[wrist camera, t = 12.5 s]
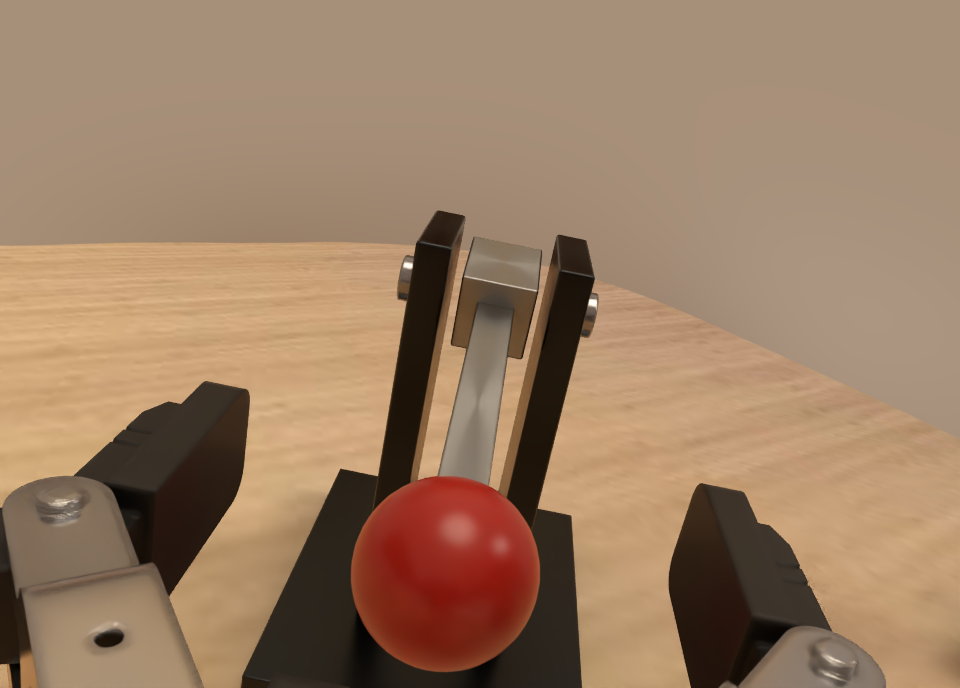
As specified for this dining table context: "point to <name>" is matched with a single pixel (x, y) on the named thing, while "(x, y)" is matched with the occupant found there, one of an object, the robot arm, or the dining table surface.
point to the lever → (459, 499)
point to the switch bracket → (354, 496)
